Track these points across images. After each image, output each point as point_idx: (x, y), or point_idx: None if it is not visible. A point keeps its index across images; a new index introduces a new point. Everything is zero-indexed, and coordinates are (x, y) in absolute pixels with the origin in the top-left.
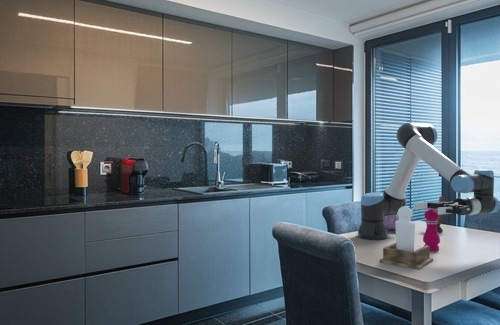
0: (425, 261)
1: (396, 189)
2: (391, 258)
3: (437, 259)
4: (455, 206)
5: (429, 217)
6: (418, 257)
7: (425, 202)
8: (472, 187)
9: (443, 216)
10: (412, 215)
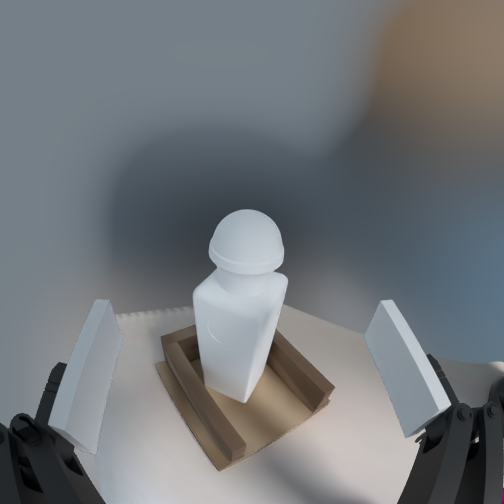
0: (192, 418)
1: None
2: None
3: (232, 497)
4: (15, 422)
5: None
6: (173, 367)
7: (440, 395)
8: None
9: None
10: (216, 264)
